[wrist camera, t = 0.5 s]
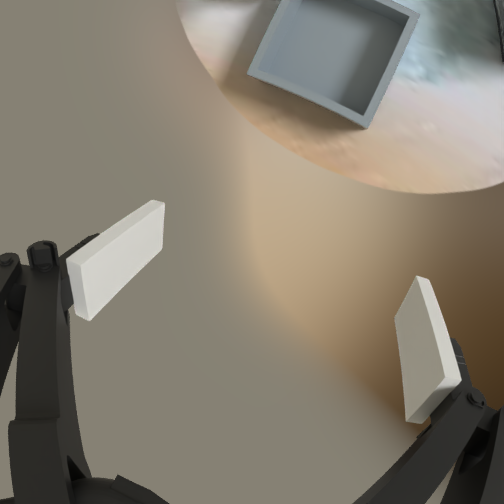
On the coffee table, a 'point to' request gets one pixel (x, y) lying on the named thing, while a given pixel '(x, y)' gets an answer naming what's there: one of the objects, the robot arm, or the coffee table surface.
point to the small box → (500, 22)
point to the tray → (335, 52)
